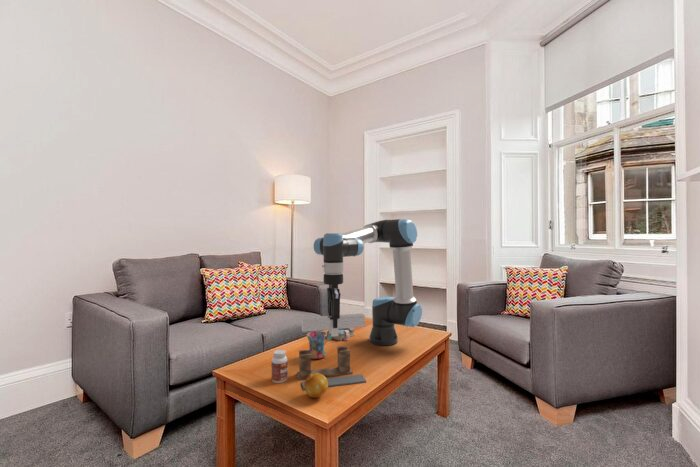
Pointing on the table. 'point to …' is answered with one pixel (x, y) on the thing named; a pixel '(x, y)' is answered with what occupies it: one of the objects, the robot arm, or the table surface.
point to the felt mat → (343, 380)
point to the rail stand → (340, 370)
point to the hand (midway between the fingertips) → (333, 334)
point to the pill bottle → (279, 366)
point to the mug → (317, 344)
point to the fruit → (316, 385)
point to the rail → (325, 322)
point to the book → (342, 334)
